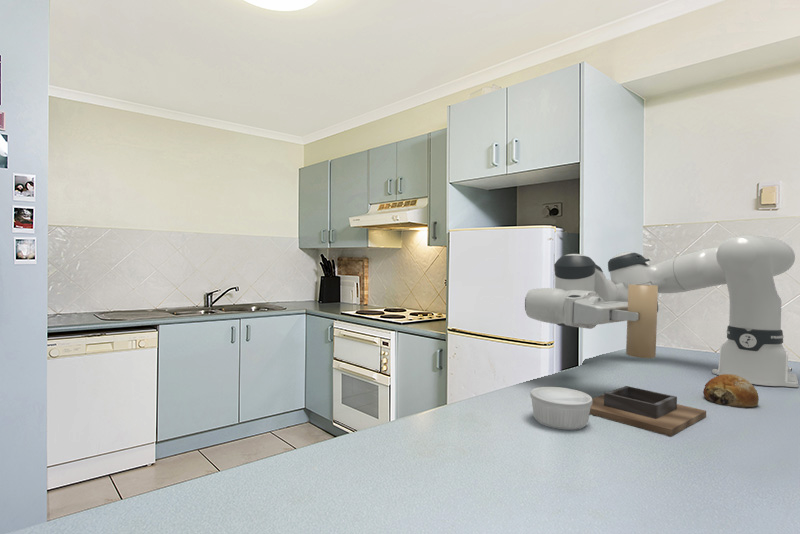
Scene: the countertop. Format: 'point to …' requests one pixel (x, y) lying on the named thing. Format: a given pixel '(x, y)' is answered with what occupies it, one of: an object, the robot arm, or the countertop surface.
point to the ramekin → (561, 407)
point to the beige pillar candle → (642, 321)
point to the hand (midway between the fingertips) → (646, 315)
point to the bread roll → (731, 391)
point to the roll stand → (646, 410)
